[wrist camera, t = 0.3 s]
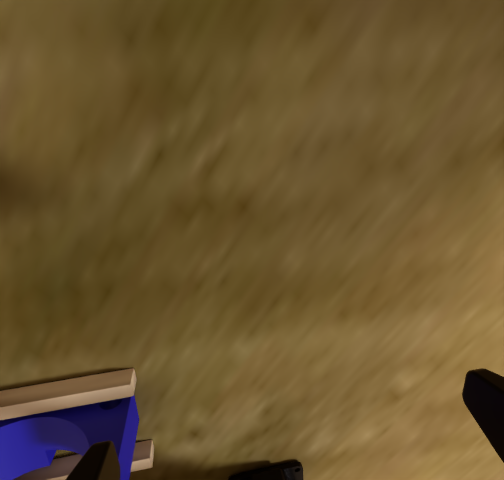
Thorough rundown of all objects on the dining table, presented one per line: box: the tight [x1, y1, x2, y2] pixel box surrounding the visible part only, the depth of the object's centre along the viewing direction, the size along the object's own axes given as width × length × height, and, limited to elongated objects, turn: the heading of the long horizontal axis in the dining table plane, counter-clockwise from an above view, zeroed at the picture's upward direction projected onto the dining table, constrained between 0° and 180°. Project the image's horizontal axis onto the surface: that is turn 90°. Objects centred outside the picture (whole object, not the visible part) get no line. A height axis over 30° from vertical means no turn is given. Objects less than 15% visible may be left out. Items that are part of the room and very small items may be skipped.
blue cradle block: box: [0, 396, 139, 480], centre depth 21 cm, size 12×4×6 cm, turn 92°
